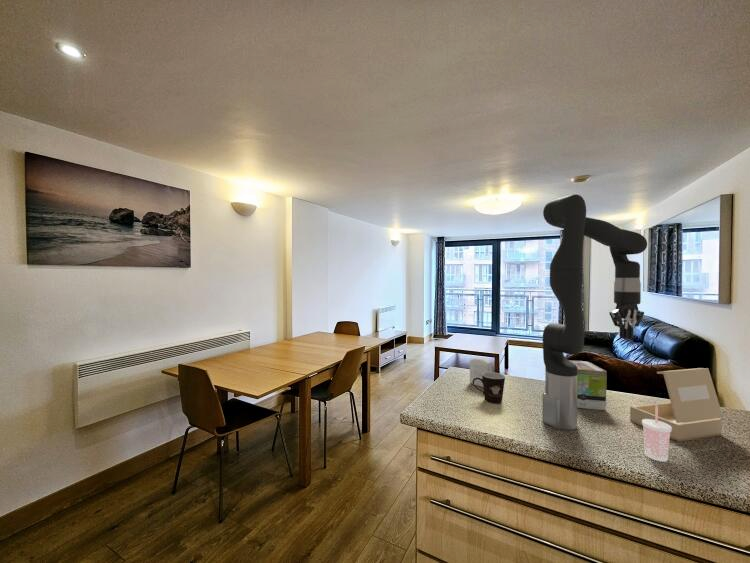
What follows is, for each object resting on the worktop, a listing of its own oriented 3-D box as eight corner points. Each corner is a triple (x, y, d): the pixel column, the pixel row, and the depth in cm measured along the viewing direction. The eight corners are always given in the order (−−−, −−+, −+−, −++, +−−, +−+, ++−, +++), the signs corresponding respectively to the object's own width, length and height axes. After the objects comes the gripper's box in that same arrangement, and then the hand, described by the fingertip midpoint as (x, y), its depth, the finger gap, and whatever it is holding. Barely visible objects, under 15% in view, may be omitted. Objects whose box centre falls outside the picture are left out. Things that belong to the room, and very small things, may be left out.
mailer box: (677, 441, 94) (678, 425, 94) (630, 421, 108) (630, 406, 107) (721, 435, 98) (721, 419, 98) (670, 416, 112) (670, 401, 112)
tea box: (607, 410, 116) (607, 370, 116) (577, 408, 118) (577, 369, 118) (588, 396, 131) (588, 360, 131) (561, 394, 133) (562, 359, 133)
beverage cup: (647, 460, 84) (647, 408, 84) (637, 448, 90) (638, 399, 90) (676, 465, 82) (677, 411, 82) (664, 453, 88) (665, 403, 88)
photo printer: (493, 387, 140) (493, 359, 140) (487, 389, 138) (487, 361, 137) (474, 381, 148) (474, 355, 148) (468, 383, 146) (468, 356, 146)
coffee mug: (506, 399, 127) (507, 374, 126) (502, 406, 119) (502, 380, 119) (477, 393, 133) (477, 369, 133) (471, 400, 125) (471, 375, 125)
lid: (669, 421, 96) (678, 423, 94) (656, 371, 99) (665, 371, 97) (713, 415, 100) (723, 417, 98) (699, 368, 104) (708, 368, 101)
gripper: (622, 291, 108) (621, 341, 109) (653, 290, 112) (652, 339, 112) (601, 290, 116) (601, 337, 116) (631, 290, 119) (630, 336, 119)
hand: (626, 338), depth 114 cm, fingers closed
